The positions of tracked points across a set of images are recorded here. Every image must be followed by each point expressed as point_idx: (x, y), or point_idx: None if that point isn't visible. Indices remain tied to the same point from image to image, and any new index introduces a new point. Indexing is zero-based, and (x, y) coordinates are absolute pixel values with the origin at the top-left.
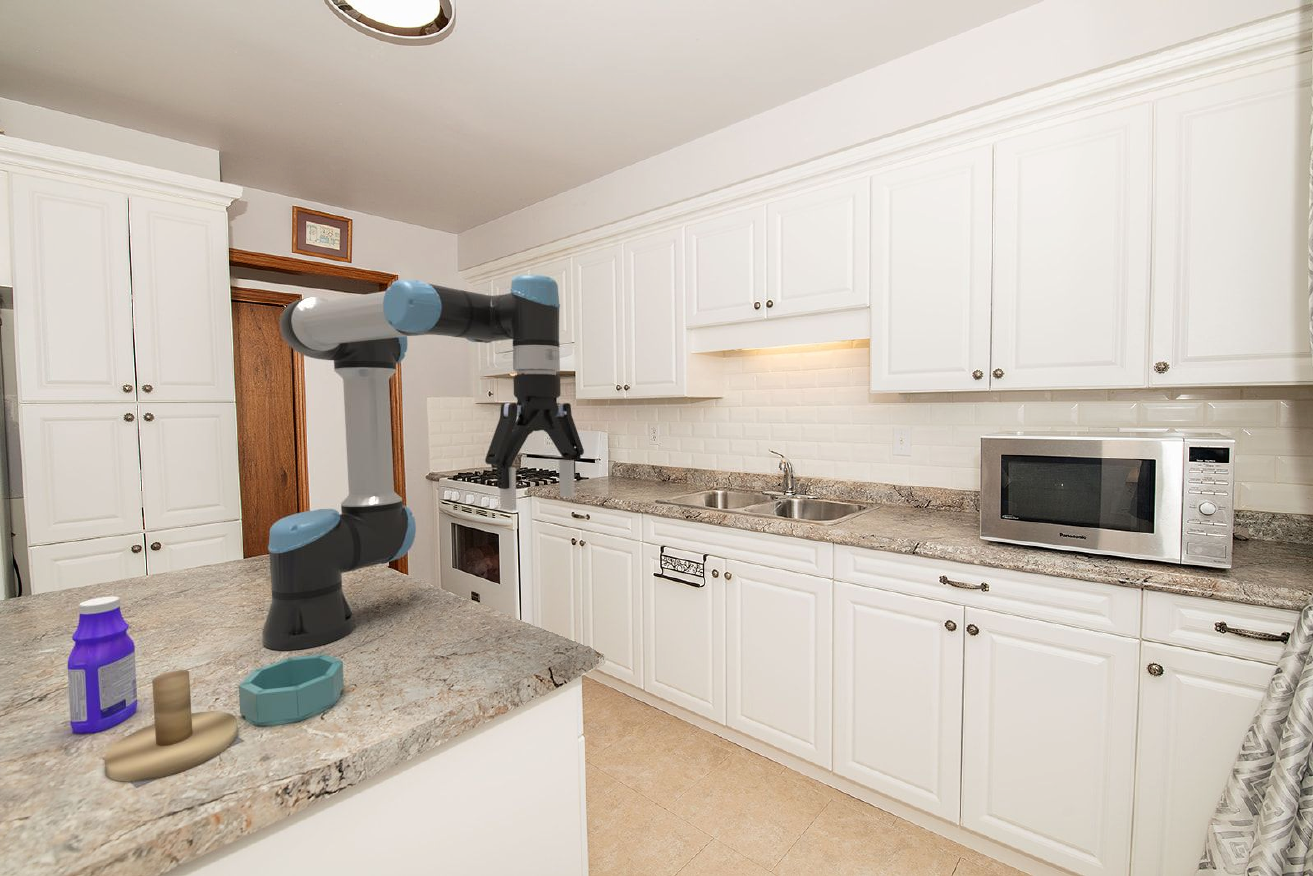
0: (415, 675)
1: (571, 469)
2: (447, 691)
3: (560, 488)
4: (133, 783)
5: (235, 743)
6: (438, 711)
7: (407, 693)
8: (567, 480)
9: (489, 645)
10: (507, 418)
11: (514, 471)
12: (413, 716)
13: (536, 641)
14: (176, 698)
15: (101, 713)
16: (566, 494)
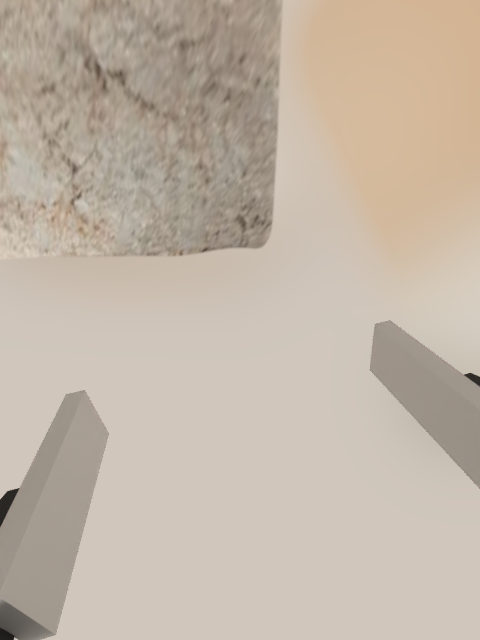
0: (35, 109)
1: (453, 457)
2: (67, 207)
3: (396, 345)
4: None
5: None
6: (42, 248)
7: (11, 166)
8: (415, 400)
9: (184, 100)
10: None
11: (54, 609)
12: (10, 237)
13: (246, 157)
14: None
15: None
16: (378, 358)
